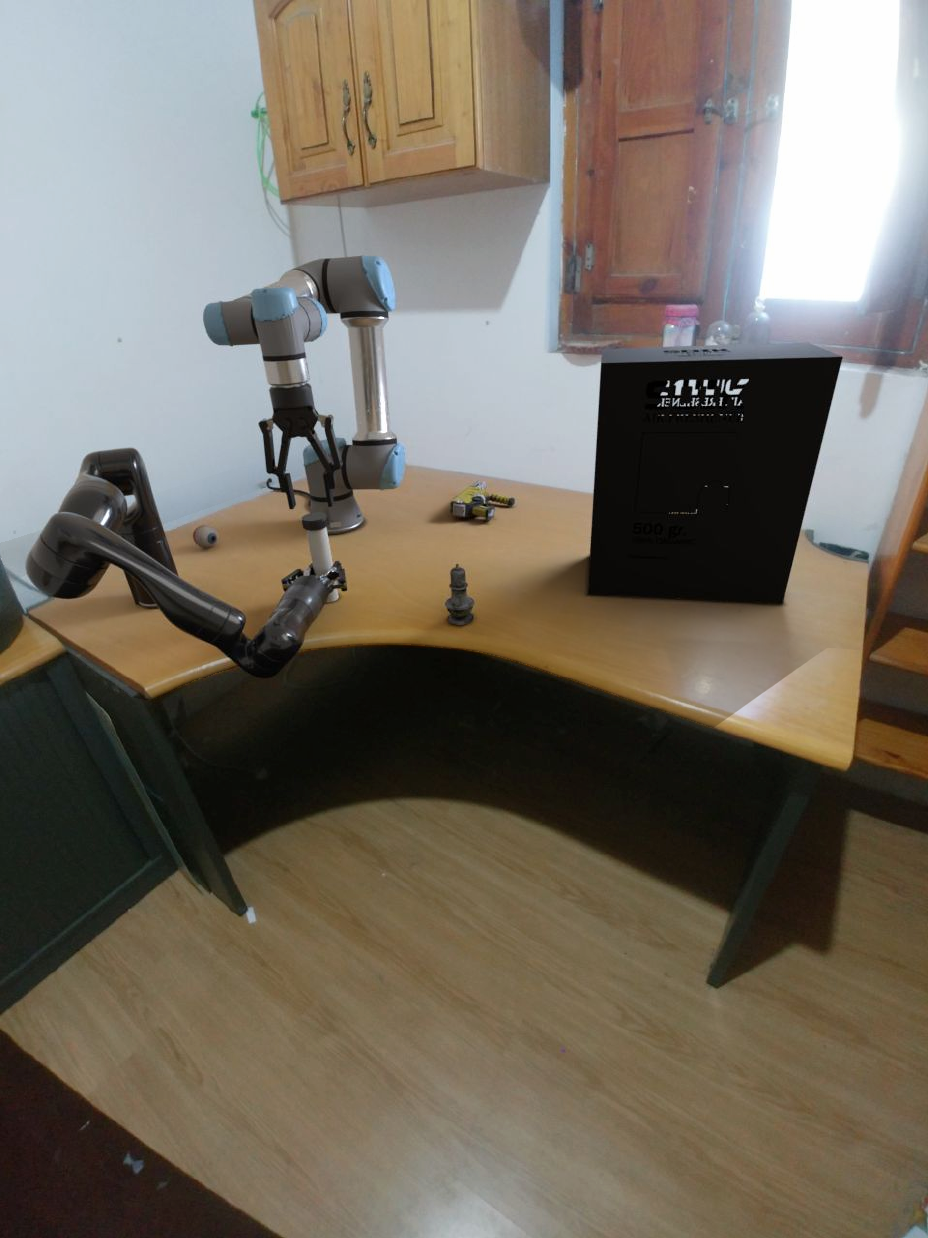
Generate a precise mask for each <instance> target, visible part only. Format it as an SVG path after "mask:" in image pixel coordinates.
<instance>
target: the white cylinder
mask: <svg viewBox="0 0 928 1238" xmlns="http://www.w3.org/2000/svg"><path fill="white" fill-rule="evenodd" d="M305 531H306V536H307V541H308V547H309V553H310V557H311V562H312V563H313V568H314V573H315V575H320V574H321V573H323V572H324V571H325V570H330V569H331V567H332V566H333V564H334V562H333V557H332V551H331V545H330V540H329V535H328V534H327V528H326V527H325V528H323V529H320V530H314V531H309V530H305ZM335 582H336V581H335ZM335 582H334V583H335ZM339 596H340V595H339V592H338V589H334V591H333V592H331V593H330V594H329V596H328V599H327V601H326V603H327V604H329V603H332V602H333V603H334V602H335V601H338V599H339ZM326 603H325V604H326Z"/></svg>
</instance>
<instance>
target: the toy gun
mask: <svg viewBox="0 0 928 1238" xmlns="http://www.w3.org/2000/svg"><path fill="white" fill-rule="evenodd" d="M486 487H487V482H486V481H485V480H483V481H482V482H481V480H477V481H476V482H474V483H473V484H472V485H469V486H468V487H467V488H466V489H465V490H463V491H462V492H461V493H460V494H459V495H457V496H456V497H455V498H454V499H453V500H451V502H450V503H449V504H450V505H449V513H450V515H451V516H454V518H458V519H459V518H460V519H461V518H471V517H474V516H477V517H481V518H485V521H487V522H488V521H490V520H491V519H493V518H494V517H495V511H496V509H495V508H496V507H495V506H494V505H492V504H491V505H490V506H489V505H488V504H487V503H489V502H490V501H491V502H492V503H499V504H502V505H507V506H508V507H513V506H514V505H515V503H516V499H515V498H514V497H511V496H509V497H508V496H506V495H505V496H504V495H501V494H497V493H491V495H490V494H489V492H488V491H487V489H485V488H486Z"/></svg>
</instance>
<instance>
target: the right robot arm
mask: <svg viewBox="0 0 928 1238" xmlns="http://www.w3.org/2000/svg"><path fill="white" fill-rule="evenodd" d="M394 286H395V285H394V281H393V277H392V274H391V271H390V268H389V266H388V264H387V263H386V261H385V260H384V258H382V257H380V256H379V255H364V254H362V255H356V256H344V257H329V258H326V257H325V258H317V259H314V260H312V261H309V262H306V263H303V264H301V265H299V266H296V267H294V268H292V269H289V270H287V271H285V272H284V273H283V274H282V275H281V276H280V278H279V280H278V281H275V282H273V283H270V284H269V285H266V286H263V287H261V288H254V289H252V291H251V292H250V293H247V294H246V295H243V296H240V297H238V298H235V299H233V300H229V301H222V300H219V301H216V302H210V303H207V305H205V307H204V309H203V313H202V322H203V326H204V329H205V333H206V335H207V337H208V339H209V340H210V341H211V342H212V343H213V344H215V345H217V346H226V347H227V346H229V347H234V346H247V345H248V346H249V345H250V346H251V345H259V347H260V350H261V355H262V357H261V358H262V361H263V367H264V372H265V377H266V382H267V384H268V385H270V387H269V388H268V392H269V398H270V402H271V407H272V416H271V417H269V418H262V419H261V420H260V421H259V422H258V427H259V430H260V432H261V434H262V441H263V450H264V451H263V453H264V460H265V461H264V463H265V471H266V473H267V474H268V475H271V474H272V475H275V476H276V477H277V479H278V485H279V487H277V486H276V487H275V486H271V485H270V483H272V482H273V479H272V478H271V477H269V478H268V479H266V484H265V485H266V488H267V489H269V490H271V491H280V492H281V493H286V499H287V504H288V509H289V510H294V509H295V507H296V506H297V502H296V498H295V497H296V496H295V493H297V494H302V495H304V496H307V497H309V500H308V506H309V513H315V512H321V513H325V514H326V515H327V518H328V526H327V527H326V528H327V534H328V536H331V535H339V534H340V535H341V534H345V533H350V532H353V531H355V530H357V529H359V528H361V527H362V526H363V525H364V523H365V519H364V514H363V512H362V510H361V508H360V505H359V504H358V501H357V500H356V498H355V495H354V490H359V491H360V490H361V491H362V490H380V491H384V490H385V491H386V490H395V489H397V488H398V487H400V485H401V484H402V481H403V478H404V475H405V469H406V451H405V449H406V448H405V446H404V445H403V444H401V443H398V436H397V435H396V434H395V433H394V431H392V430H391V420H390V406H389V404H390V403H389V392H388V378H387V377H388V376H387V364H386V363H387V362H386V350H385V349H386V348H385V336H384V335H385V333H384V328H385V326H386V324H387V323H388V322H389V320H390V318H389V313H391V312H392V311H394V310H395V308H396V291H395V287H394ZM327 314H329V315H330V314H332V315H333V314H335V315H336V314H337V315H338V314H339V317H340V322H341V323H342V324H343V325H344V326H345V327H346V329H347V334H348V336H347V337H348V347H349V357H350V358H349V359H350V368H351V378H352V390H353V400H354V401H353V402H354V412H355V423H356V433H354V435H353V436H352V437H351V444H348V443H347V441H346V439H345V438H344V437H336V433H335V430H334V419H335V418H334V416H333V414H328V415H325V414H319V412H318V411H317V408H316V407H315V401H314V395H313V389H312V385H311V384H310V383H308V382H309V381H310V379H311V377H310V371H309V365H308V359H307V353H306V347H305V343H308V342H310V343H312V342H315V341H317V340H318V339H319V338H321V337H322V336H323V335H324V334H325V332H326V330H327V328H328V316H327ZM318 422H319V423H320V427H322V428H323V429H324V434H325V439H322V440H320V438H319V437H318V433H317V431H316V430H315V427H316V425H317V423H318ZM274 425H275V426H276V427H277V429H279V430H280V431H281V432H282V433H281V440H280V449H279V454H278V460H277V465H276V455H275V446H274V434H273V429H274V427H275V426H274ZM294 438H306V440H307V441H308V443H309V444H308V445H307V446H305V447H304V448H303V450H302V457H303V459H302V460H303V467H304V471H305V477H306V481H307V486H308V492H307V491H304V490H300V489H294V486H293V482H292V477H291V473H290V472H287V464H288V460H289V459H288V458H289V453H290V449H291V448H290V447H291V441H292V439H294Z"/></svg>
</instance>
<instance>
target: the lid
mask: <svg viewBox="0 0 928 1238" xmlns="http://www.w3.org/2000/svg"><path fill="white" fill-rule="evenodd" d="M301 525H302V529H303V530H305V531H306V530H309V531H314V530H320V529H323V528H325V527H327V526H328V518H327V515H326V514H325V513H321V512H315V513H310V512H309V513H306V514H303V515H302V516H301Z"/></svg>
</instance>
